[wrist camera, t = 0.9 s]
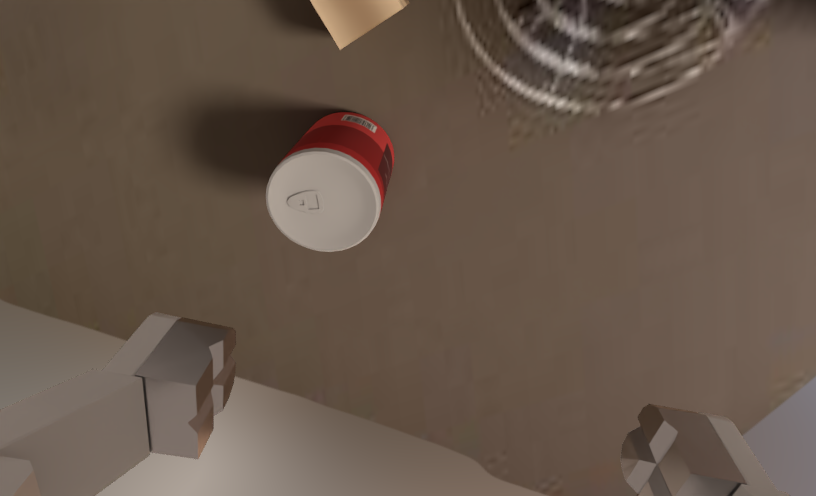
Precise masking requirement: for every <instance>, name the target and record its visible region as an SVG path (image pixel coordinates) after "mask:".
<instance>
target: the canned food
mask: <svg viewBox="0 0 816 496" xmlns="http://www.w3.org/2000/svg"><path fill="white" fill-rule="evenodd" d="M393 165H394V151H393V146H392V143H391V141H390V139H389V137H388V135H387V134H386V132H385V131H384V130H383V129H382V128H381V127H380V126H379V125H378V124H377V123H376V122H374V121H373V120H372V119H370V118H368V117H366V116H363V115H361V114H356V113H352V112H339V113H333V114H330V115H327V116H325V117H323V118H322V119H320V120H318V121H317V122H316V123H315V124H314V125H313V126H312V127H311V128H310V129H309V130H308V131H307V132H306V133H305V135H304V136H303V137H302V138H301V139H300V140H299V141H298V142H297V143H296V145H295V146H294V147H293V148H292V149H291V150H290V151H289V152H288V153H287V155H286V156H285V157H284V158H283V159H282V160H281V162H280V163H279V164H278V165H277V167H276V168H275V170H274V171H273V173H272V175H271V177H270V179H269V182H268V185H267V189H266V203H267V208H268V211H269V214H270V216H271V218H272V220H273V222H274V223H275V225H276V226H277V227H278V228H279V230H280V231H281V232H282V233H283V234H284V235H285V236H287V237H288V238H289V239H290V240H292V241H294V242H295V243H297V244H299V245H301V246H303V247H306V248H309V249H312V250H317V251H326V252H333V251H341V250H344V249H348V248H351V247H353V246H355V245H357V244H359V243H360V242H361V241H363V240H364V239H365V238H366V237H367V236H368V235H369V234H370V232H371V231H372V230H373V228H374V227H375V225H376V223H377V221H378V219H379V215H380V212H381V209H382V206H383V202H384V198H385V195H386V191H387V187H388V184H389V180H390V176H391V173H392V169H393Z"/></svg>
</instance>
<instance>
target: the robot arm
mask: <svg viewBox="0 0 816 496" xmlns="http://www.w3.org/2000/svg"><path fill="white" fill-rule="evenodd" d="M235 345H236V331H235V329H234V328H232V327H227V326H222V325H217V324H212V323H207V322H203V321H198V320H193V319H188V318H183V317H182V318H180V317H176V316H171V315H166V314H161V313H157V312H156V313H154V314H152V315H150V316H148V317H147V318H146V320H145V321H144V322H143V323H142V324H141V325H140V326H139V328H138V329H137V330H136V331H135V332H134V333H133V335H132V336H131V337H130V338H129V339H128V340H127V342H126V343H125V344H124V345H123V346H122V347H121V349H120V350H119V351H118V352H117V353H116V355H115V356H114V357H113V358H112V359H111V360H110V361H109V362H108V364H107V365H106V366H105V367H104V368H103V369H102V370H97V369H92V370H90V371H87V372H85V373H83V374H81V375H78V376H76V377H74V378H71V379H69V380H67V381H65V382H62V383H60V384H58V385H55V386H53V387H51V388H49V389H47V390H44V391H42V392H40V393H37V394H35V395H32V396H30V397H28V398H26V399H23V400H21V401H19V402H16V403H14V404H12V405H10V406H7V407H5V408H3V409H0V496H95V495H96V494H98V493H99V492H100V491H102V490H103V489H105V488H106V487H107V486H109V485H110V484H111V483H113V482H114V481H115V480H117V479H118V478H119V477H121V476H122V475H124V474H125V473H126V472H128V471H129V470H130V469H132V468H133V467H135V466H136V465H137V464H138V463H140V462H141V461H143V460H144V459H145V458H147V457H148V456H149V455H150V452H152V453H159V454H166V455H174V456H180V457H187V458H194V459H198V458H199V457H200V455H201V453H202V451H203V449H204V447H205V445H206V443H207V441H208V439H209V437H210V435H211V433H212V431H213V428H214V427H213V426H214V421H213V420H214V419H213V418H214V415H216V414H218V413H219V412H221V411H222V410H223V409H224V407H225V405H226V403H227V401H228V399H229V396H230V393H231V390H232V386H233V383H234V377H235V369H236V362H235V360H234V359H233V358H232V356H231V353H232V351H233V349H234V347H235ZM638 420H639V423H640V427H638V428H636V429H634V430H632V431H631V432H629V433H628V434H627V436H626V438H625V440H624V442H623V444H622V450H621V465H622V471H623V474H624V477H625V480H626V482H627V483H628V484H629V485H630V486H631V487H632V488H633V489H634V490H635V491H636V492H637V493H638V494H637V496H790V495H789V494H787V493H786V492H782V491H778V490H777V489H776V487H775V486H774V484H773V483H772V481H771V480H770V478H769V477H768V475H767V474H766V472H765V471H764V469H763V468H762V466H761V465H760V463H759V461H758V460H757V458H756V457H755V455H754V454H753V452H752V451H751V449H750V448H749V446H748V445H747V443H746V442H745V440H744V438H743V437H742V435H741V434H740V432H739V431H738V429H737V428H736V426H735V425H734V423H733V422H732V421H731V420H729V419H728V418H727V417H725V416H720V415H714V414H708V413H702V412H699V413H697V412H693V411H688V410H682V409H676V408H670V407H665V406H659V405H653V404H648V405H647V406H645V407H644V408H643V409H642V410H641V412H640V414H639V415H638Z"/></svg>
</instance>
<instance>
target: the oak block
mask: <svg viewBox="0 0 816 496" xmlns="http://www.w3.org/2000/svg"><path fill="white" fill-rule="evenodd" d="M310 1H311V3H312V5H313V6H314V8H315V9H316V11H317V13H318V14H319V16H320V18H321V19H322V21H323V23H324V24H325V26H326V28H327V29H328V31H329V32H330V34H331V36H332V37H333V39H334V41H335V42H336V44H337V46H338V47H339V49H342V48H344V47H345V46H347V45H348V44H350V43H351V42H353V41H354V40H356V39H357V38H359V37H360V36H362V35H363V34H365V33H366V32H368V31H369V30H371V29H372V28H374V27H375V26H377V25H378V24H380V23H382V22H383V21H385V20H386V19H388V18H389V17H391V16H392V15H394V14H395V13H397V12H398V11H400V10H401V9H403V8H404V7H405V6H406V5H408V4H409V1H408V0H310Z"/></svg>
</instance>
